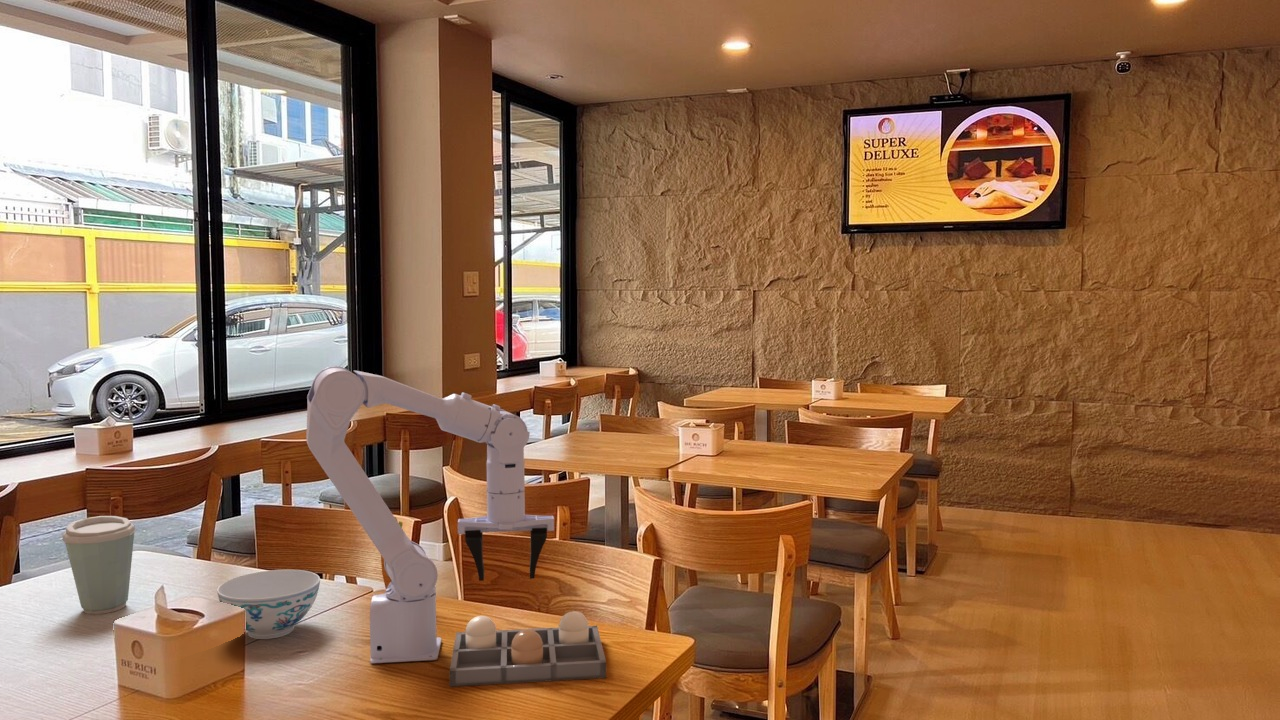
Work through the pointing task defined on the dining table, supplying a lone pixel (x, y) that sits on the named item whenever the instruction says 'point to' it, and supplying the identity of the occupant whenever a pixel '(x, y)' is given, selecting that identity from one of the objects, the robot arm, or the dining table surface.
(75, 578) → the disposable coffee cup
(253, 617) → the chinaware
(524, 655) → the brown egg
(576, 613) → the egg carton
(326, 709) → the dining table surface
